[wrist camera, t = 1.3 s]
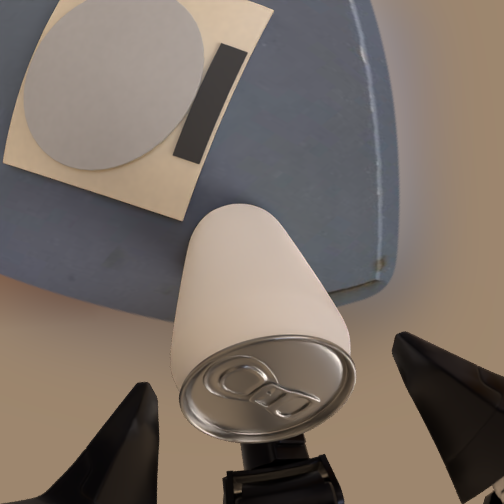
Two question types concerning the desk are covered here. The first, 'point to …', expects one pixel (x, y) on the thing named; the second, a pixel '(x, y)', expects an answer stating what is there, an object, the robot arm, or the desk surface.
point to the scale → (132, 95)
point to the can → (256, 333)
